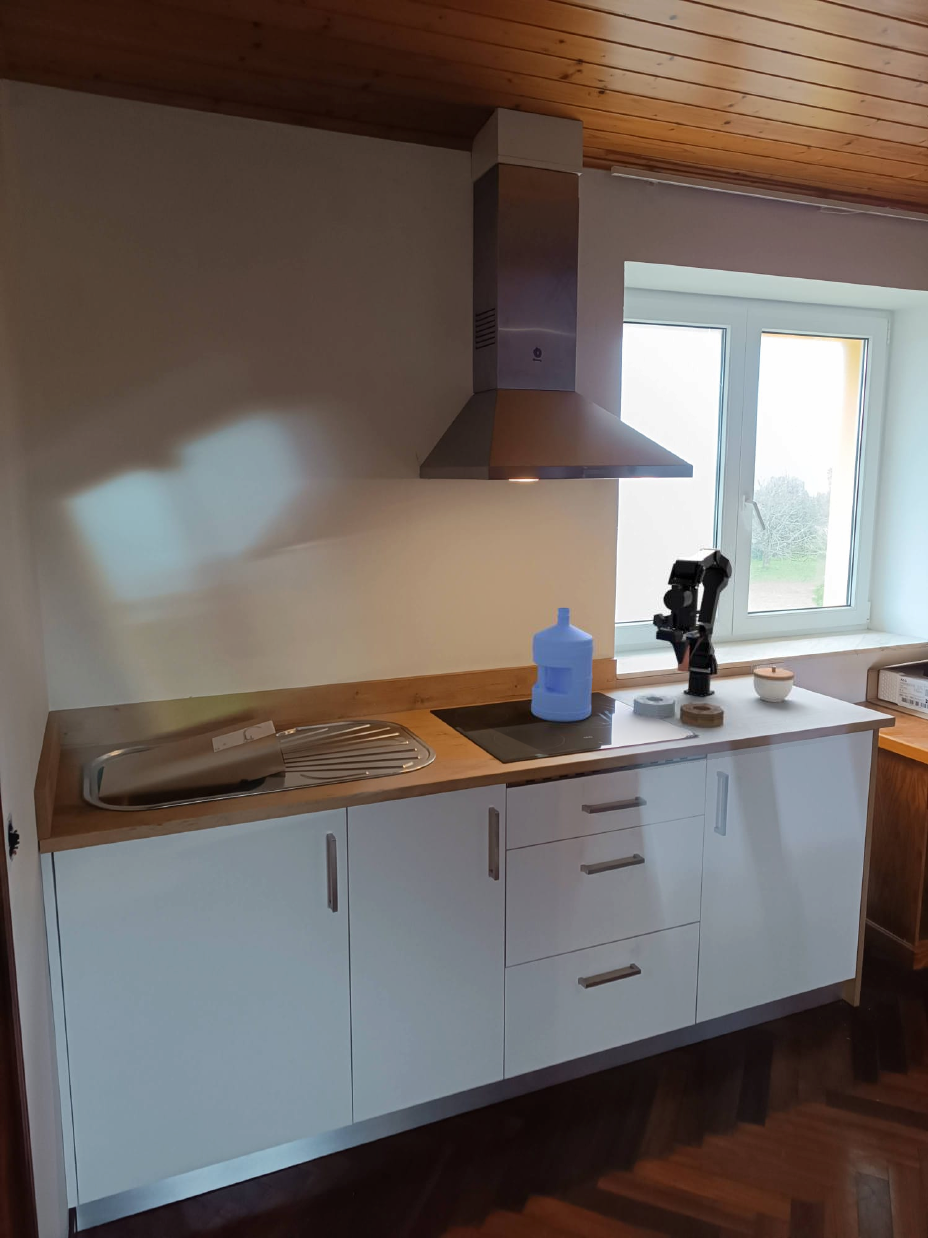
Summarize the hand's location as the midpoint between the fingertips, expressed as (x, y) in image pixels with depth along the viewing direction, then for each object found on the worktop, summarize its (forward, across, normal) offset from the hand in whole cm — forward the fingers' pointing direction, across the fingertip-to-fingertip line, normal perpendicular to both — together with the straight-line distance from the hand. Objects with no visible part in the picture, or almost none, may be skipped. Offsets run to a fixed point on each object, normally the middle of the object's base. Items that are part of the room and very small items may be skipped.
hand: (683, 663), depth 231 cm
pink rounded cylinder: (+2, 0, 0) cm, 2 cm away
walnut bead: (+12, +9, +12) cm, 19 cm away
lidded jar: (+12, -25, +13) cm, 31 cm away
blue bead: (+12, +11, -1) cm, 16 cm away
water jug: (+12, +31, -16) cm, 37 cm away
